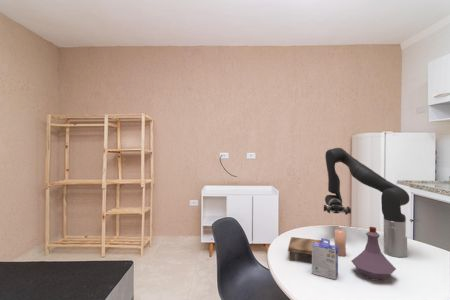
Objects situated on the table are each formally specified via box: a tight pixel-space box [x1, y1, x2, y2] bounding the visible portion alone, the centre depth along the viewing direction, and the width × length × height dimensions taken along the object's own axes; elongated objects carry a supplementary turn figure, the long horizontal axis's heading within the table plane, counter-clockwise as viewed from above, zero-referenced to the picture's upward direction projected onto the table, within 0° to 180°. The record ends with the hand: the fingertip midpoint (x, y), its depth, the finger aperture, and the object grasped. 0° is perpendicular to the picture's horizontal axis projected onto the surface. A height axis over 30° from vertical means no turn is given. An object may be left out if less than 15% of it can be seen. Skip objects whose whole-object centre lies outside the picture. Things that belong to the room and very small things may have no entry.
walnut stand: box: [287, 236, 324, 262], centre depth 124 cm, size 16×16×6 cm
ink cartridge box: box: [311, 237, 339, 280], centre depth 106 cm, size 10×6×14 cm, turn 58°
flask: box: [350, 226, 397, 281], centre depth 106 cm, size 16×16×20 cm
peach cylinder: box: [334, 228, 347, 257], centre depth 126 cm, size 5×5×12 cm
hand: (337, 212), depth 138 cm, fingers open, 8 cm apart
